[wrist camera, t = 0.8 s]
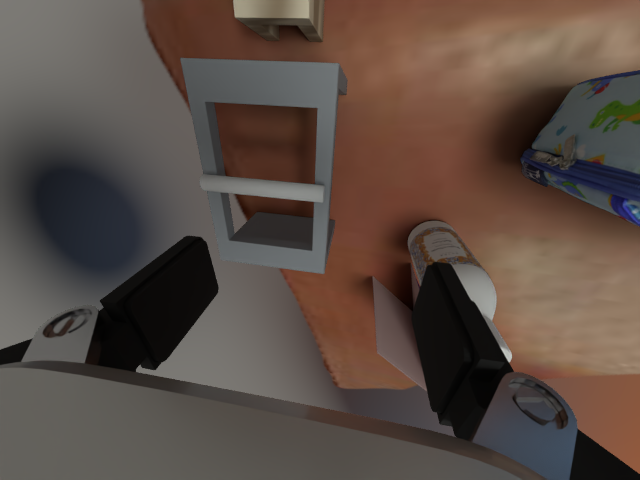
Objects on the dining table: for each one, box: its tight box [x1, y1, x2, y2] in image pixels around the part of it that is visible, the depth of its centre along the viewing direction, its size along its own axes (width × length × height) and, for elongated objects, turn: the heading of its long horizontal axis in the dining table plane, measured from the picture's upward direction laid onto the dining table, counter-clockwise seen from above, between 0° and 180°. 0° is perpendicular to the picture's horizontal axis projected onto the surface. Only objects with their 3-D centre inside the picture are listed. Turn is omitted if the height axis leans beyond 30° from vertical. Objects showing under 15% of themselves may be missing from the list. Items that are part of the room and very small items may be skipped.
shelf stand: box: [180, 58, 348, 274], centre depth 28 cm, size 20×13×14 cm, turn 177°
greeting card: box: [372, 264, 427, 391], centre depth 35 cm, size 11×7×15 cm, turn 13°
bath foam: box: [408, 221, 512, 362], centre depth 28 cm, size 7×7×20 cm
